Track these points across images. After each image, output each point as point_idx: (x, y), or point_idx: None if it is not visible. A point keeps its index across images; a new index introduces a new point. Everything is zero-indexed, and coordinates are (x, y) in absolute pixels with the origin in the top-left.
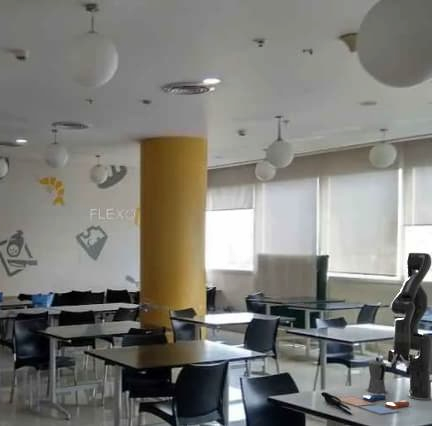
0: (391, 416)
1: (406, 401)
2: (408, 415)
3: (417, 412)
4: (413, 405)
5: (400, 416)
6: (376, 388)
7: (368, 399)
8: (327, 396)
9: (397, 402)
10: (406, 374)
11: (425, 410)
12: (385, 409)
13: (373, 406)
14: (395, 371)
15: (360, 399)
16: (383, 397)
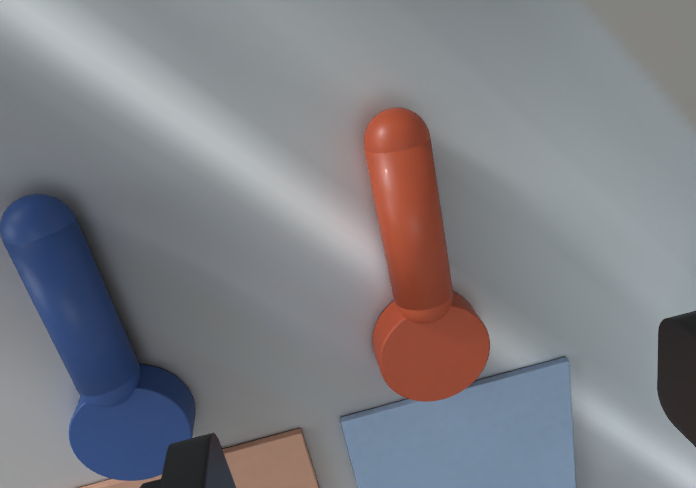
0: (642, 469)
1: (420, 161)
2: None
3: (618, 180)
4: (362, 4)
5: None
6: None
7: None
8: None
9: (442, 300)
10: (681, 419)
11: (582, 20)
12: (494, 436)
13: (391, 484)
14: (219, 451)
15: (130, 484)
16: (87, 248)
